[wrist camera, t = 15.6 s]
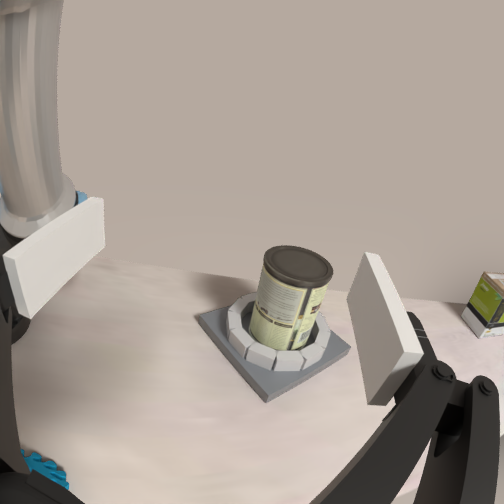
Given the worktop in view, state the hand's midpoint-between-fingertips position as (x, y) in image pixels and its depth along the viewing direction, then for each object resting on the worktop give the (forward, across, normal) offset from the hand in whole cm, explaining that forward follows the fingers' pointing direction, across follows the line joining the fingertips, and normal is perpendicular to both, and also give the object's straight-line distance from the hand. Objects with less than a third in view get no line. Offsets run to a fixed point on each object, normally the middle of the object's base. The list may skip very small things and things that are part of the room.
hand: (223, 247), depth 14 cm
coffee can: (+26, +8, -28) cm, 39 cm away
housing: (+27, +7, -30) cm, 41 cm away
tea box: (+43, +67, -30) cm, 85 cm away
